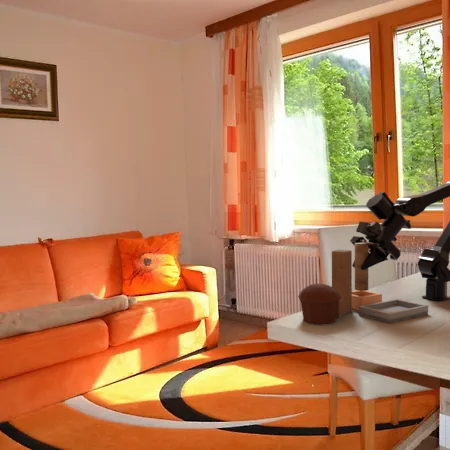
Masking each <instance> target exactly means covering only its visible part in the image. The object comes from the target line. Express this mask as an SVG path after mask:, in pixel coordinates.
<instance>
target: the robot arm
mask: <svg viewBox="0 0 450 450" xmlns="http://www.w3.org/2000/svg"><path fill="white" fill-rule="evenodd" d="M449 197H450V180H449V181H448V180H447V182H445V183H443V184H441V185H438V186H436V187H434V188H431V189H429V190H426V191H424V192H421V193H419V194H415V195H407V196H402V197H399V198H397V199H396V200H395V201H392V199H390V197H389V196H388V195H387V193H386V192H385V191H379V192H378V194H376V195H374V196H373V197H371V198H369V199H368V201H367V202H366V204H365V205H366V208H367V209H368V210H369V211H370V212H371V213H372V214H373V215H374V217H376V219H378V220H383V221H382V222H381V223H380V222H378V221H372V222H367V221H359V222H358V224H357V228H356V230H355V232H357V233H360V234H362V235H364V236H365V237H364V236H359V235H354V236H352V237H351V239H350V240H349V242H351V243H350V244H352V245H353V247H355V243H368V257H367V258H366V260H365V261H364V263H363V264H362V266H361V269H362V270H365V269H367V268H368V269H369V268H371V267H373V266H375V265H378V264H380V263H382V262H385V261H388V260H389V259H388V256H389V258H390V260H393V261H398V260H399V258H400V257H401V250H400V249H399V248H398V247H397V245H395V244H394V242H396V241H397V240H398V239H397V238H396V237H397V235H398V234H399V233H400V232H401V231H402V230H403V229H408V230H409V229H410V230H411V228H412V226H411V225H412V224H411V220H410V219H406V218H405V217H417V216H419V214H421V213H423V212H424V211H425V210H426V209H427V207H429V206H431V205H434V204H436V203H437V202H440V201H443V200H445V199H447V198H449ZM404 216H405V217H404ZM417 259H418V262H417V267H418V271H419V272H420V275H421V278H422V279H423V278H424V279H426V281H425V282H426V283H425V295H422V296H421V298H423V299H428V300H433V301H437V302H440V301H446V300H450V296H448V282H450V269H449V267H448V266H449V263H450V220H449V222H448V223H447V224H446V226H445V228H444V230H443V231H442V233H441V234H440V236H439V238H438V239H437V241H436V242H435V244H434V246H433V247H432V248H424V249H423V250H422V253H421V255H420V256H418V258H417ZM352 267H353V268H354V269H355V259H354V260H353V262H352Z"/></svg>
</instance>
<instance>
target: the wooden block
mask: <svg viewBox="0 0 450 450" xmlns="http://www.w3.org/2000/svg"><path fill="white" fill-rule="evenodd" d="M352 257H353V255H352V250H351V249H350V250H349V249H335V250H332V251H331V287H332V288H334V289H335V290H336V291H337V292H338V293H339V295H340V297H341V299H340V301H339V305H338V311H337V317H336V318H340V317H341V316H344V315H346V314H347V313H349V312H352V291H353V290H352V289H353V288H352V286H353V285H352V280H353V275H352V273H353V272H352V270H353V269H352V267H353V266H352V265H353V262H352V259H353V258H352Z"/></svg>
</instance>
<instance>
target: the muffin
mask: <svg viewBox="0 0 450 450" xmlns="http://www.w3.org/2000/svg"><path fill="white" fill-rule="evenodd" d="M340 299H341V297H340V295H339V293H338V292H337V291H336V290H335V289H334V288H332V285H331V286H330V284H329V285H328V284H325V283H313V284H309V285H307V286H305V287H304V288H303V289H302V290H301V291H300V293H299V294H298V300H299V301H300V306H301V313H302V319H303V322H304V323H306V324H309V325H315V326H316V325H317V326H325V325H326V324H327V325H332V324H334V323H336V322H337V318H338V317H337V311H338V305H339V301H340Z"/></svg>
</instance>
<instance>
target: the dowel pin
mask: <svg viewBox="0 0 450 450" xmlns="http://www.w3.org/2000/svg"><path fill="white" fill-rule="evenodd" d="M367 257H368V243H355V246H354V260H355V268H354V291H356V290H359V291H369V268H367V269H365V270H362V269H361V266H362V264H363V263H364V261H365V260H366V258H367Z"/></svg>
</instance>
